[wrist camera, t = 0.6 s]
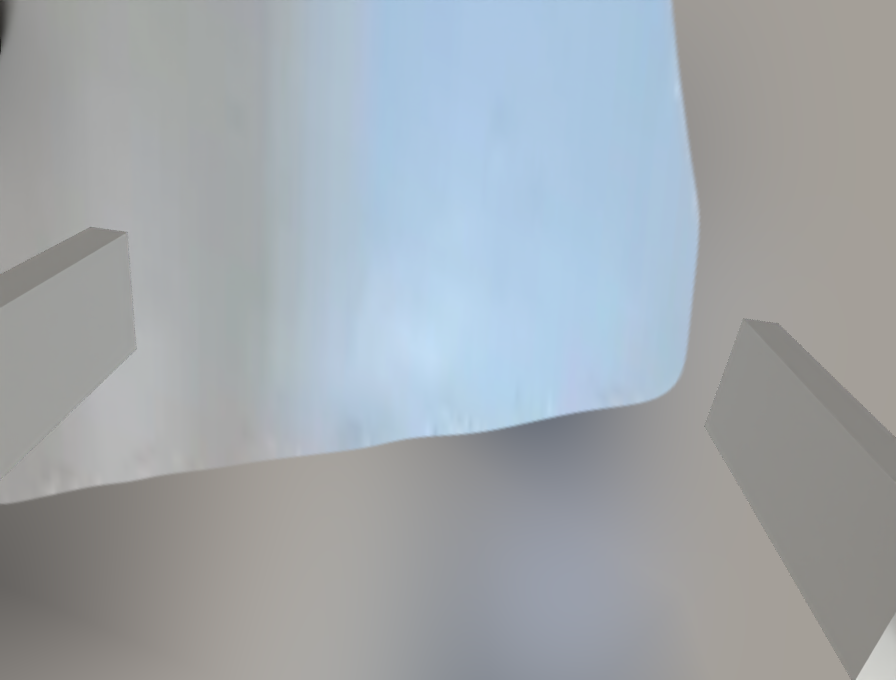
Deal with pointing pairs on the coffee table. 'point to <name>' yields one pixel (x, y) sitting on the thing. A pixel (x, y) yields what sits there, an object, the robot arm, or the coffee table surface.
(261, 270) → the coffee table surface
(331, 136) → the coffee table surface
